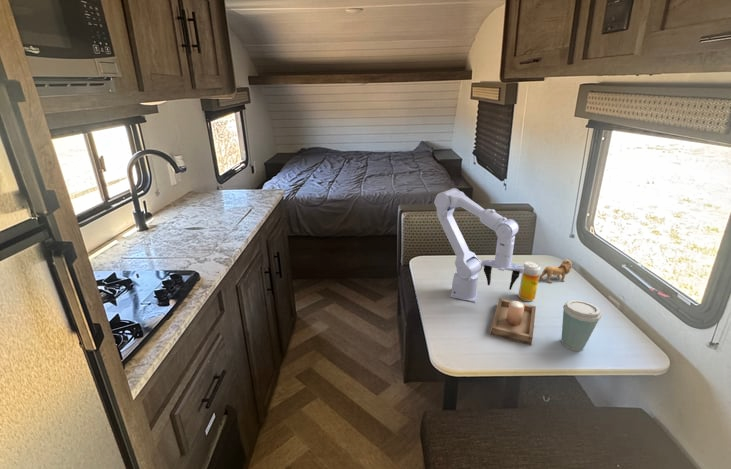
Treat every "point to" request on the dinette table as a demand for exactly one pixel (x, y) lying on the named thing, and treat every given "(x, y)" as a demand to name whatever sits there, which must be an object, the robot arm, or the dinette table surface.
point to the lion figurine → (557, 271)
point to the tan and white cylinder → (515, 313)
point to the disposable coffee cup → (578, 323)
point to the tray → (512, 332)
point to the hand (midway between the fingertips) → (499, 286)
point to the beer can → (529, 281)
